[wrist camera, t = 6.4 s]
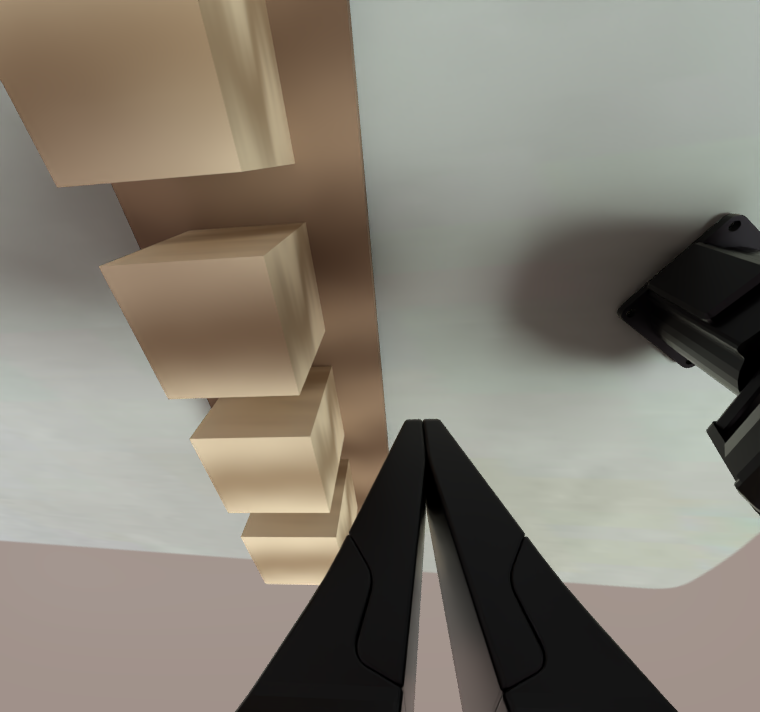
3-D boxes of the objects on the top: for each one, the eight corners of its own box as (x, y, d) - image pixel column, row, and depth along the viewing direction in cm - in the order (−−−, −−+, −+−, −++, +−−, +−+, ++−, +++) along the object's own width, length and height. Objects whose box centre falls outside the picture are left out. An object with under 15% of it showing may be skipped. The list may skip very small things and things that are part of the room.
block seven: (186, 230, 17) (94, 266, 12) (305, 222, 16) (263, 255, 11) (224, 335, 20) (165, 399, 15) (325, 330, 19) (299, 395, 14)
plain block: (239, 369, 21) (189, 439, 16) (331, 365, 21) (310, 436, 16) (263, 436, 24) (228, 512, 19) (344, 435, 24) (329, 512, 19)
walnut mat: (16, -76, 12) (-12, -92, 11) (338, -126, 11) (333, -148, 10) (266, 512, 31) (262, 522, 30) (394, 512, 30) (393, 522, 29)
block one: (99, -9, 12) (-110, -118, 7) (259, -31, 12) (155, -164, 7) (166, 174, 16) (52, 188, 10) (295, 163, 15) (241, 171, 10)
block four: (270, 460, 26) (238, 536, 21) (348, 459, 25) (336, 537, 20) (287, 507, 29) (263, 583, 24) (357, 507, 28) (348, 585, 23)
